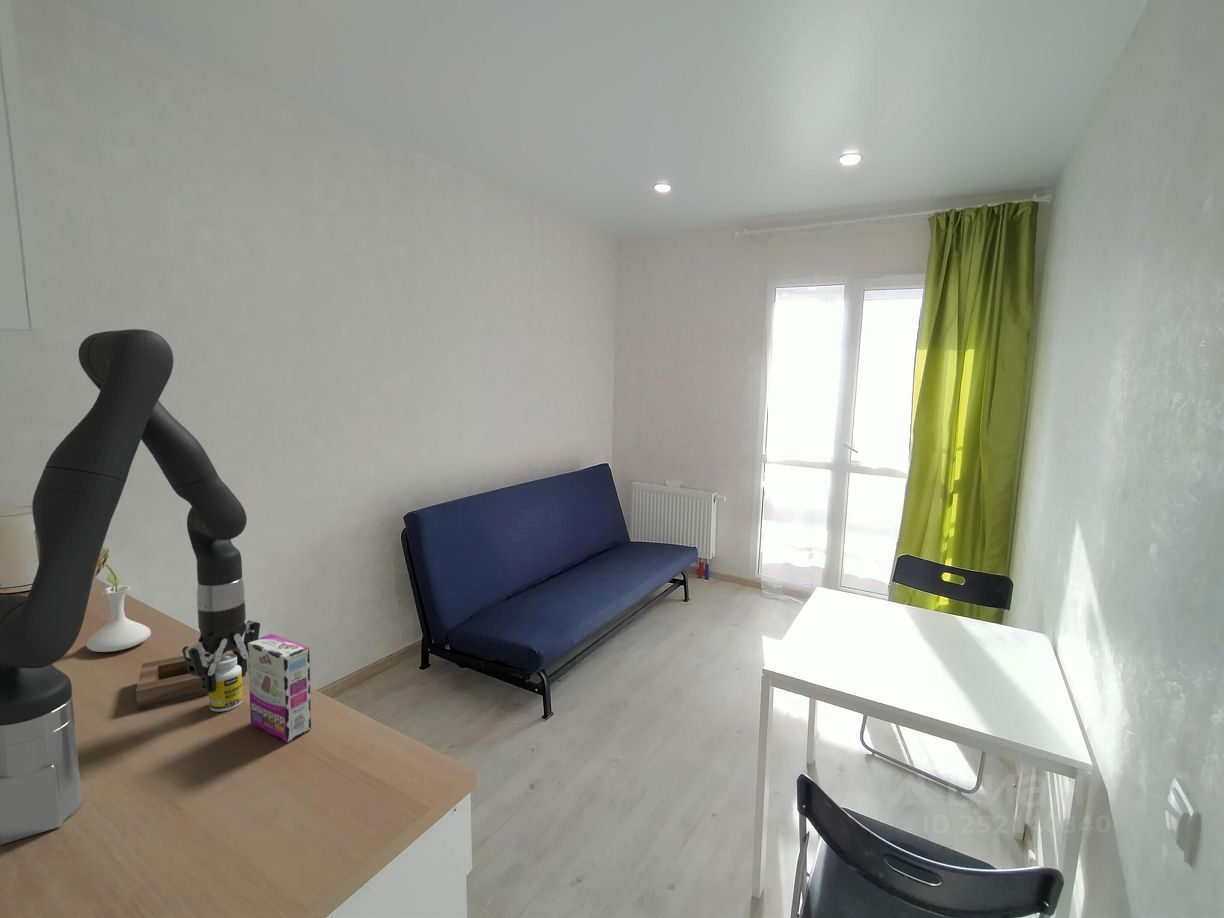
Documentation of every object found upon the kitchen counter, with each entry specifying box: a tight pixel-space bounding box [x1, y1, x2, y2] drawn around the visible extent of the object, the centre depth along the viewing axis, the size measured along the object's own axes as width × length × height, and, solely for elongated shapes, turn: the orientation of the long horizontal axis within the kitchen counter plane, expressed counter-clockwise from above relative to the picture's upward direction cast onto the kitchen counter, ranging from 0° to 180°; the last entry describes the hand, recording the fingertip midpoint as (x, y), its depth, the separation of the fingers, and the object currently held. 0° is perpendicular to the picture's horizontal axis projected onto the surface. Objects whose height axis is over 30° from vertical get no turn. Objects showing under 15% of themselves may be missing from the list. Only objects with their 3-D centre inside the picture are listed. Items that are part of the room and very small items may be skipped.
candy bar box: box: [247, 633, 312, 743], centre depth 103 cm, size 11×5×16 cm, turn 64°
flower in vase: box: [86, 545, 152, 653], centre depth 128 cm, size 13×11×25 cm
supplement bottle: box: [208, 653, 243, 712], centre depth 110 cm, size 5×5×10 cm
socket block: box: [135, 651, 214, 711], centre depth 115 cm, size 12×12×4 cm
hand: (225, 683), depth 110 cm, fingers closed on supplement bottle, 5 cm apart
